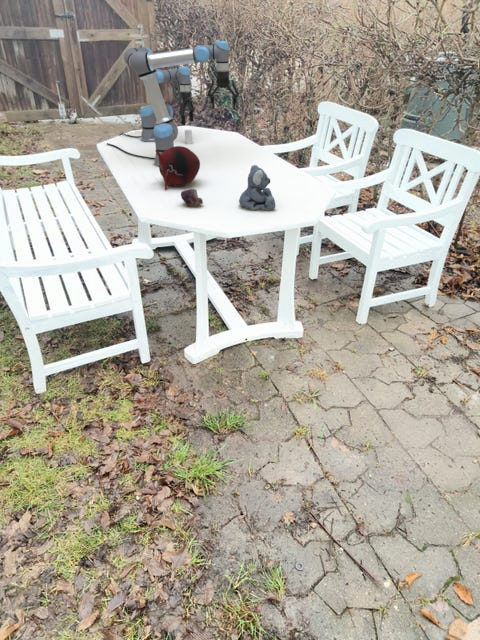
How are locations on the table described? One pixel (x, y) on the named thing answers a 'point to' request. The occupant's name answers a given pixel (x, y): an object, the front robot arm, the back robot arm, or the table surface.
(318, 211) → the table surface
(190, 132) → the canister
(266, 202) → the koala plush
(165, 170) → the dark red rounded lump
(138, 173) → the table surface
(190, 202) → the rock
